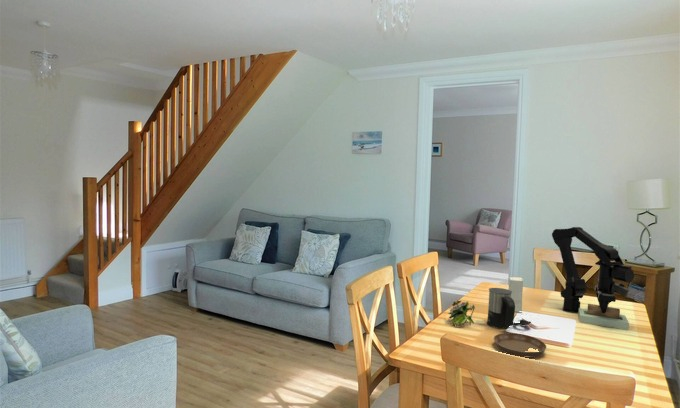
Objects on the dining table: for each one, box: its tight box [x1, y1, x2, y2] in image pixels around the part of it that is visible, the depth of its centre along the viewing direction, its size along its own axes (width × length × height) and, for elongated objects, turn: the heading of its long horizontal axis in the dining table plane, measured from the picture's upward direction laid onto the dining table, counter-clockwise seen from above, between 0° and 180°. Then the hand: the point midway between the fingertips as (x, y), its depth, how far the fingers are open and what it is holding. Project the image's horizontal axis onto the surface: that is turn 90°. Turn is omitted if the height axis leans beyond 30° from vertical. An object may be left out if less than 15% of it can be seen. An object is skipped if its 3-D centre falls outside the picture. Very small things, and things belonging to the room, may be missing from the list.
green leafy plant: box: [448, 300, 476, 326], centre depth 186 cm, size 11×11×12 cm
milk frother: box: [486, 287, 532, 329], centre depth 186 cm, size 14×16×15 cm
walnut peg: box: [586, 303, 621, 319], centre depth 196 cm, size 12×4×4 cm, turn 61°
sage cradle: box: [577, 307, 630, 331], centre depth 197 cm, size 18×12×3 cm, turn 65°
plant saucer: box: [493, 332, 547, 358], centre depth 162 cm, size 18×18×3 cm
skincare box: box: [508, 276, 524, 313], centre depth 209 cm, size 8×6×15 cm
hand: (603, 311), depth 196 cm, fingers open, 4 cm apart
